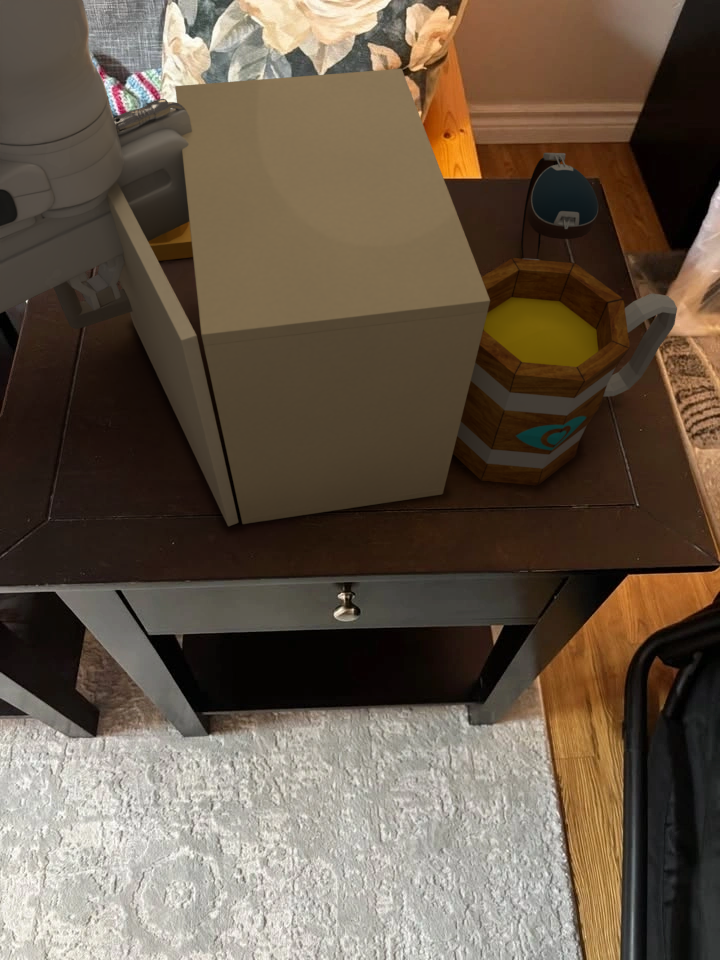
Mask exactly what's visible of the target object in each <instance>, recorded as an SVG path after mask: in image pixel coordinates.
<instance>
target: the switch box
mask: <svg viewBox="0 0 720 960" xmlns="http://www.w3.org/2000/svg"><path fill="white" fill-rule="evenodd" d="M148 243H149V244H150V246H151V248H152V250H153V252H154V254H155V256H156V258H157V260H158V262H160V261H161V262H162V261H171V260H180V259H189V258H193V251H192V241H191V232H190V222H187V223H185V224H183V225H181V226H179V227H177V228H175V229H173V230H171V231H169V232H167V233H165V234H162V235H160V236H158V237H156V238H154V239H152V240H150V241H148Z"/></svg>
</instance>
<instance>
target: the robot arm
mask: <svg viewBox="0 0 720 960" xmlns="http://www.w3.org/2000/svg"><path fill="white" fill-rule="evenodd" d="M89 37H90V27H89V19H88V15H87V11H86V7H85V4H84V0H0V314H3V313H4V312H6V311H8V310H11V309H13V308H14V307H17V306H19V305H21V304H23V303H25V302H26V301H27V302H28V301H29V300H31V299H33V298H36V297H37V296H40V295H41V294H43V293H45V292H47V291H50V290H52V289H54V287H56V286H58V285H60V284H62V283H64V282H66V281H67V282H68V283H69V285H70V286H71V287H72V288H74V289H75V291H77V292H79V293H81V294H82V297H83V299H84V301H85V300H86V302H87V303H88V304H89V305H90V307H91V308H92V309H93V310H94V311H95V310H97V309H99V308H101V307H103V306H105V305H107V304H109V303H111V302H113V301H115V300H117V299H119V298H121V295H120V292H119V290H120V288H119V286H118V283H119V282H120V281H119V278H120V275H121V272H122V269H123V266H124V263H125V261H124V257H123V253H124V252H123V248H122V245H121V242H120V238H119V235H118V232H117V229H116V225H115V222H114V219H113V216H112V213H111V210H110V207H109V204H108V201H107V196H108V195H107V193H108V191H109V189H110V187H111V186H112V185H113V184H114V183H115V182H117V183H118V185H119V187H120V189H121V191H122V192H123V194H124V196H125V198H126V200H127V202H128V204H129V206H130V208H131V210H132V212H133V214H134V216H135V217H136V219H137V221H138V223H139V225H140V227H141V229H142V231H143V233H144V235H145V237H146V239H147V241H150V240H152V239H154V238H156V237H158V236H160V235H162V234H165V233H167V232H169V231H171V230H173V229H175V228H177V227H179V226H181V225H183V224H185V223H187V222H189V213H188V203H187V193H186V184H185V174H184V165H183V155H182V149H184V148H185V147H187V146H188V145H189V143H188V142H187V141H186V140H185V139H184V138H183V137H182V135H185V134H187V133H189V132H191V131H192V128H191V122H190V117H189V115H188V112H187V111H186V109H185V108H184V107H183V106H182V105H180V104H179V103H177V101H176V102H175V101H168V100H167V99H165V98H159V99H155V100H152V101H151V102H149V103H147V105H145V106H143V107H140V108H136V109H133V110H129V111H126V112H123V113H120V114H119V115H116V116H114V115H113V111H112V106H111V102H110V98H109V96H108V91H107V88H106V85H105V83H104V80H103V78H102V76H101V74H100V72H99V71H98V69H97V67H96V66H95V64H94V62H93V59H92V56H91V52H90V47H89V46H90V44H89ZM96 267H98V271H97V274H96V275H94V276H92V277H90V278H89V277H88V275H87V272H88V271H91V270H94V269H95V268H96Z"/></svg>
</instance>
